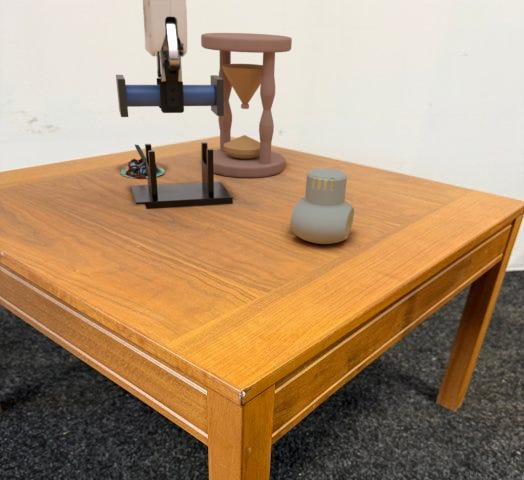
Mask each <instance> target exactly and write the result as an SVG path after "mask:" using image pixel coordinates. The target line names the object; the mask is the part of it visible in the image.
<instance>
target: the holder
mask: <svg viewBox="0 0 524 480" xmlns="http://www.w3.org/2000/svg"><path fill="white" fill-rule="evenodd" d="M200 147H201V148H200V154H201V156H200V157H201V182H184V183H183V182H182V183H181V182H180V183H164V184H162V183H161V184H158V176H156V166H157V163H156V152H155V150H154V149H153V150H152V144H151V143H144V149H145V150H144V151H145V157H146V164H147V177H148V178H147V184H141V185H140V184H139V185H130V190H131V192H132V193H131V194H132V196H133V199H134V202H135V205H144V206H145V209H146V210H147V209H148V210H150V209H165V208H166V209H167V208H182V207H183V208H184V207H198V206H199V207H200V206H201V207H202V206H215V205H216V206H217V205H233V203H234V197H233V196H232V194H231V193H230V192H229V191H228V189H227V188H226V187H225V186H224V184H223V183H222V182H221V181H215V178H214V177H215V173H214V165H213V151H214V148H208V147H209V146H208V142H206V141H202V142H200Z"/></svg>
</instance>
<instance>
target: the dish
mask: <svg viewBox="0 0 524 480" xmlns="http://www.w3.org/2000/svg"><path fill="white" fill-rule="evenodd" d="M134 146H135V147H134V148H135V149H136V151H137V153H138V155H139V156H140V158H139V159H136V158H135V157H134V158H133V159H130V161H128V162H127V163H128V164H127V168H124V169H121V171H120V175H122V177H127V178H131V179H138V180H139V179H140V180H141V179H148V177H147V164H146V154H145V153H144V152H143V150H142V149H141V147H140V145H139V144H134ZM165 173H166V171H165V169H164V168H162V167H160V168H158V167H157V165H156V177H159V176H162V175H163V174H165Z"/></svg>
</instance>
